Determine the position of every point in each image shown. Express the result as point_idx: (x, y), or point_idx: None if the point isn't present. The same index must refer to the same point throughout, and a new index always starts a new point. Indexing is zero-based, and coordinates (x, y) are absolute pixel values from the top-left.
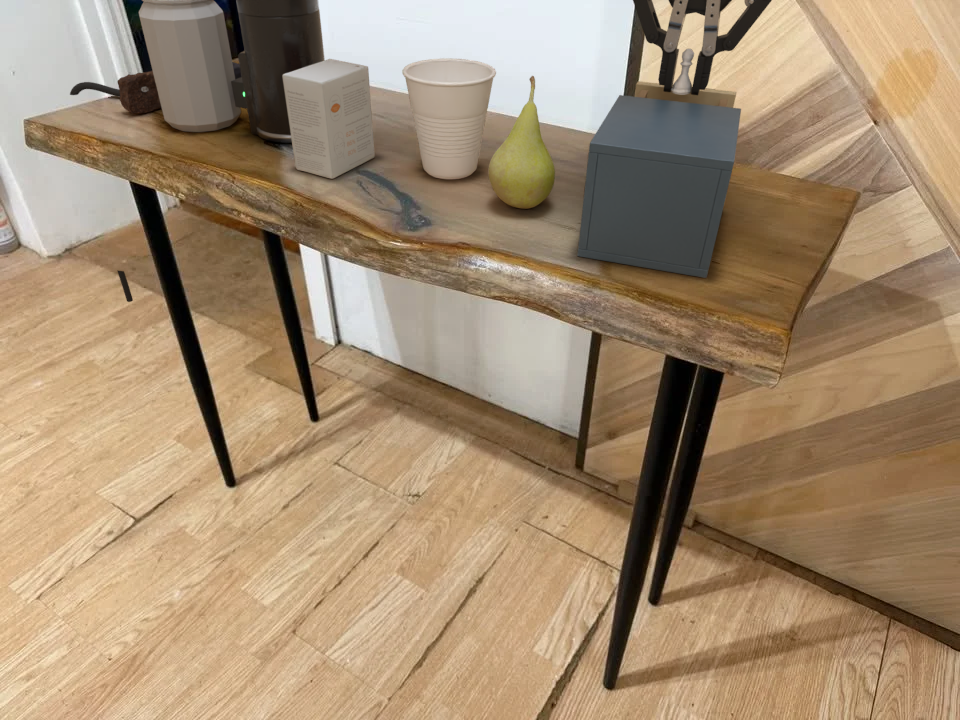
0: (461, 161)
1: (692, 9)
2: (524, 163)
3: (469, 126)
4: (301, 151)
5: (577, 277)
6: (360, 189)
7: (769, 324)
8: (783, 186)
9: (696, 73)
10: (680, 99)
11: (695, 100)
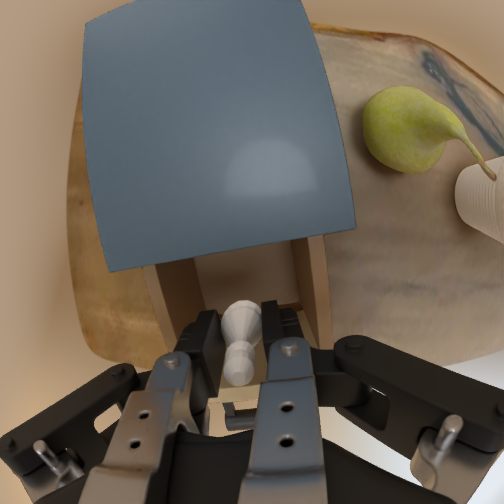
0: (468, 173)
1: (232, 442)
2: (400, 89)
3: None
4: None
5: None
6: (494, 121)
7: None
8: (137, 345)
9: (204, 327)
10: (262, 373)
11: None
